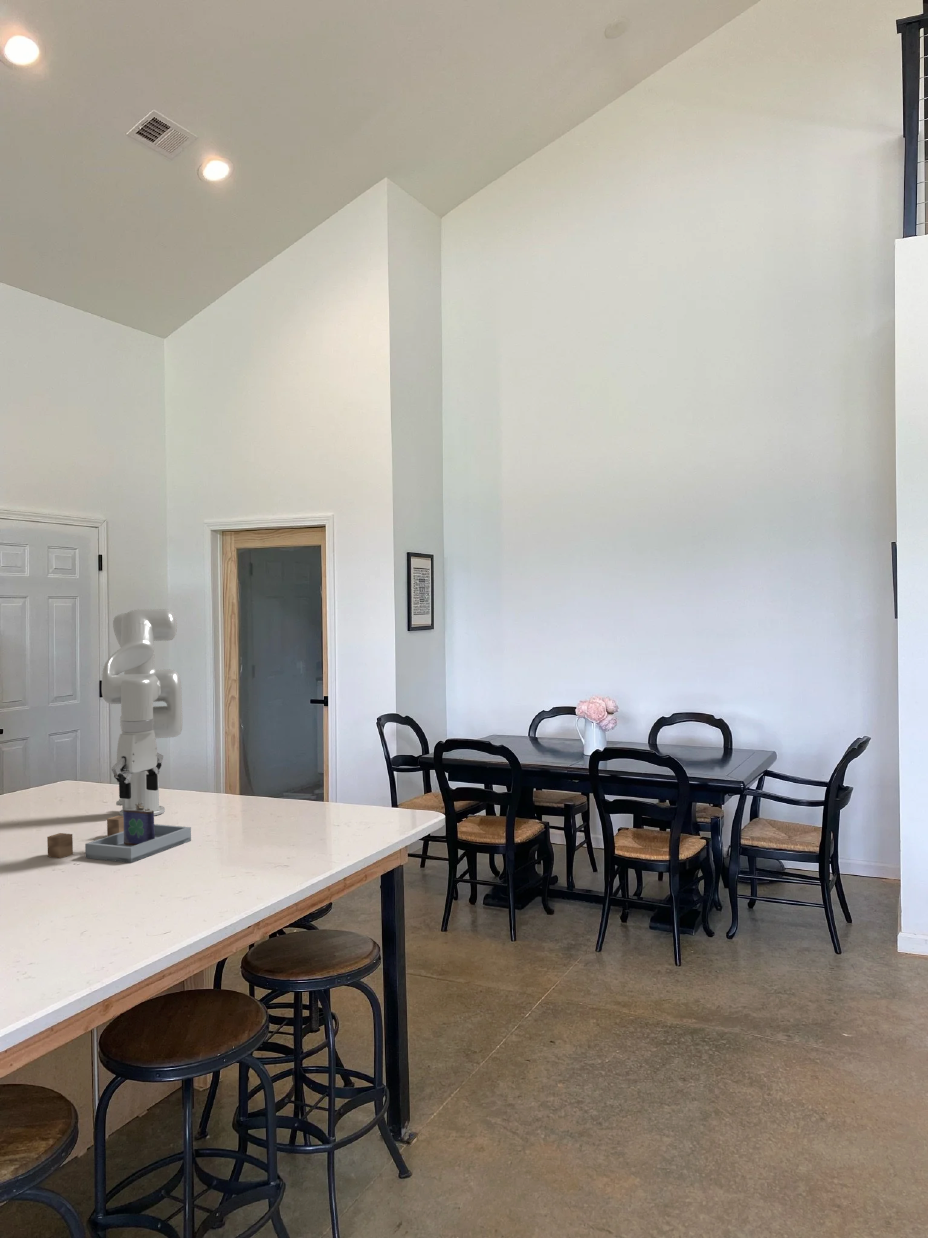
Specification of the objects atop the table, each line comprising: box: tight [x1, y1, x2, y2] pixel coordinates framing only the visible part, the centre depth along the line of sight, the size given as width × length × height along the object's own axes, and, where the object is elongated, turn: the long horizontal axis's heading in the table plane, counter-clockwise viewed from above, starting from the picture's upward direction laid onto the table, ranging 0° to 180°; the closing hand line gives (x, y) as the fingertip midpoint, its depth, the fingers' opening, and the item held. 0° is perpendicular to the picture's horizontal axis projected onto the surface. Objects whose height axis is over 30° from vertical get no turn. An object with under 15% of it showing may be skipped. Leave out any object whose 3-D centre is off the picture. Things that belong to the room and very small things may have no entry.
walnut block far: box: [106, 815, 124, 837], centre depth 244 cm, size 4×4×5 cm
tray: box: [84, 823, 192, 864], centre depth 230 cm, size 14×22×4 cm, turn 158°
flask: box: [123, 802, 155, 846], centre depth 230 cm, size 9×3×11 cm, turn 67°
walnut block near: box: [46, 832, 74, 859], centre depth 225 cm, size 4×4×5 cm
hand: (138, 794), depth 230 cm, fingers open, 9 cm apart
